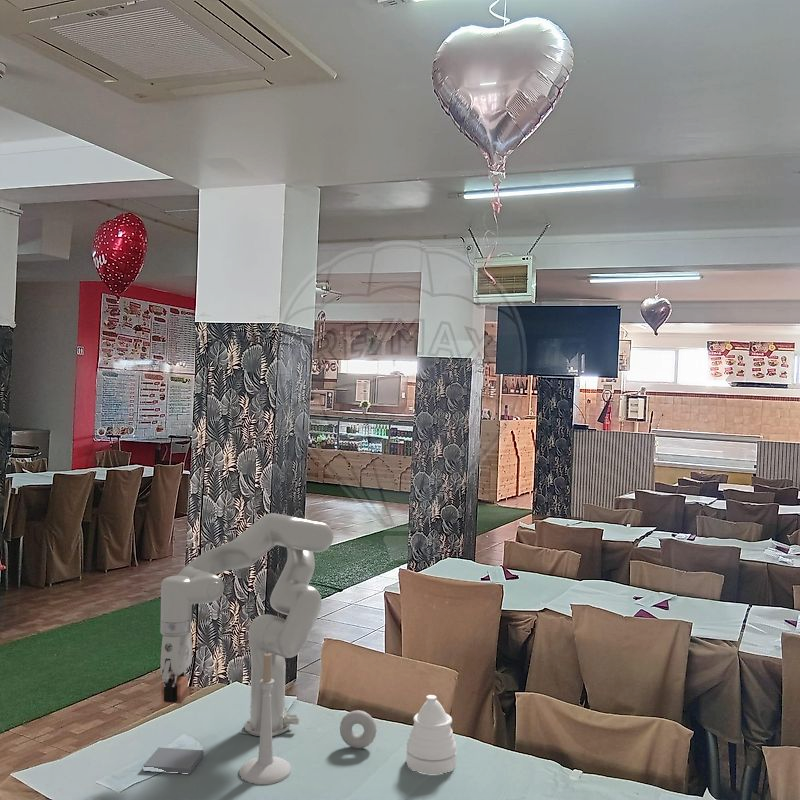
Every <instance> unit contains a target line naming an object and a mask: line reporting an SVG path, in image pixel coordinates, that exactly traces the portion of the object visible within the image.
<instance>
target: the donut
mask: <svg viewBox="0 0 800 800" xmlns="http://www.w3.org/2000/svg"><path fill="white" fill-rule="evenodd" d="M357 724H358V725H360V726H362V728H363V733H361V734H357V733H355V732H354V731H353V726H355V725H357ZM339 733H340V737H341V739H342V742H344V743H345V744H346V745H347V746H349V747H351V748H353V749H358V750H359V749H364V748H366V747H369V746H370V745H371V744H372V743H373V742H374V740H375V738H376V735H377V725H376V723H375V720H374V718H373V717H372V716H371V715H370V714H369V713H367V712H366V711H364V710H359V709H357V710H356V709H355V710H352V711H349V712H348V713H346V714H345V715H344V716H343V717H342V719H341V722H340V726H339Z"/></svg>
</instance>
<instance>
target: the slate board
mask: <svg viewBox="0 0 800 800" xmlns="http://www.w3.org/2000/svg"><path fill="white" fill-rule="evenodd" d="M201 758H202V759H203V758H204V749H203V750H202V749H190V748H189V749H187V748H171V747H158V748H157V749H156V750H155V751H154V752H153V753H152V754H151V756H150V757H149V758H148V759H147V760H146V761H145V763H144V764H142V767H143V766H144V767H154V768H158V769H162V770H164V771H166V772H178V773H188V774H190V773H191V774H192V772H193V771H194V770H195V768H196V767H197V766H198V764H199V763H200V762H201V760H202V759H201ZM198 762H199V763H198ZM197 763H198V764H197ZM196 765H197V766H196ZM195 766H196V767H195ZM193 769H194V770H193ZM192 770H193V771H192ZM191 771H192V772H191ZM191 774H190V775H191Z"/></svg>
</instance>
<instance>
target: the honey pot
mask: <svg viewBox="0 0 800 800" xmlns="http://www.w3.org/2000/svg"><path fill="white" fill-rule="evenodd" d="M425 698H426V701H425V702H424V704H423V705H422V706H421V708H420V710H419V711H418V712H417V713H416V714H415V715H414V716H413V722H414V723H413V725H412V727H411V729H410V733H409V737H408V738H407V740H406V758H405V759H406V761H405V762H407V764H406V766H407V765H408V766H409V767H410V768H411V769H413V770H415V771H418V772H422V773H426V774H440V773H445V772H448V771H451V770H452V769H454V768H456V767H457V742H456V740H455V735H454V733H453V732H454V730H453V729H452V726H451V725H452V723H453V717H452V716H451V715H450V714H448V713H446V710H445V709H444V707H443V706H442V704H441V702H440V701H439V700H438V699H437V695H434V694H428V695H426V697H425ZM408 766H407V767H408ZM455 766H456V767H455ZM409 767H408V768H409ZM410 768H409V769H410ZM411 769H410V770H411ZM413 770H412V771H413ZM454 770H455V769H454ZM452 771H453V770H452ZM452 771H451V772H452Z"/></svg>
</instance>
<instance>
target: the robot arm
mask: <svg viewBox="0 0 800 800" xmlns="http://www.w3.org/2000/svg"><path fill="white" fill-rule="evenodd" d="M333 532H334V531H333V529H332V528H331V527H330V526H329V524H327V523H325V522H322V521H316V520H312V519H311V520H310V519H306V518H301V517H296V516H291V515H286V514H282V513H281V514H280V513H273V512H271V513H267V514H265V515H263V516H261V517H259V519H258V520H257V521H255V522H254V523H253V524H251V526H249V527H247V529H246V530H244V531H243V532H242V533H240V534H239V535H238V536H237V537H236V538H234V539H233V540H231V541H229V542H227V543H224V544H221V545H219V546H216V547H214V548H212V549H209V550H207V551H204V552H203V553H201V554H200V555H198V556H197V557H195V558H194V559H193V560H192V561H190V562H189V563H188V564H187V565H185V566H184V567H183V568H182V569H181V570H180V572H179V573H178V574H177V575H171V576H167V577H165V578H163V580H161V585H160V586H161V587H160V634H161V635H162V638H161V651H160V673H161V674H162V677H161V681H162V682H164V702H174V703H173V704H175V702H176V701H177V686H176V680H177V676H184V677H187V669H188V668H189V667H190V666H191V665H192V661H193V651H192V646H193V645H192V633H191V632H192V613H193V612H192V607H193V605H194V604H196V605H197V604H210V603H211V604H212V603H213V602H216V601H217V600H219V599H220V598H221V596H222V595H223V593H224V592H225V585H224V581H223V579H221V577H220V576H218V575H217V574H221V573H223V572H227V571H232V570H241V569H244V568H249V567H251V566H253V565H254V564H255V563H257V562H258V561H259V560H260V559H261V558H262V557H263V556H264V555H266V554H267V553H268V552H269V551H271V550H272V549H273V548H274V547H276V546H279V547H284V548H286V551H287V557H286V563H285V565H284V567H283V570H281V573H280V575H279V578H278V579H277V582H276V583H275V586H274V587H273V590H272V591H271V595H270V597H269V604H270V606H271V608H272V609H273V610H274V611H276V612H278V613H281V614H283V615H286V616H287V617H286V619H285V618H283V617H279V616H276V615H273V614H269V613H268V614H260V615H258V616H256V617H255V618H254V619H253V620H252V621H251V623H250V624H249V627H248V635H247V636H248V642H249V643H248V644H249V649H250V659H251V660H250V661H251V662H250V663H251V664H250V665H251V669H250V670H251V673H250V712H249V713H250V714H249V715H250V717H249V718H248V719H247V720H246V721H245V722H244V731H245V732H246V731H247V732H246V733H247V734H249V735H252V736H256V737H260V731H261V716H262V702H263V694H264V691H263V689H262V683H261V682H260V680H262V679H263V661H264V654H265V653H267V652H268V653H271V654H272V661H271V679H274V682H273V683H272V688H271V691H270V694H271V717H272V737H275V736H278V735H281V734H284V733H286V732H287V731H288V730H289V729H290V727H291V725H295V726H296V725H297V726H298V725H299V724H300V717H299V716H298V714H290V713H288V708H287V707H286V702H285V701H286V668H287V667H286V659H291V658H294V657H296V656H297V655H299V654H300V653H301V651H302V650H303V648H304V647H305V645H306V643H307V640H308V639H309V636H310V634H311V632H312V629H313V628H314V626H315V623H316V620H317V619H318V617H319V614H320V611H321V609H322V596H321V594H320V592H319V591H318V589H317V588H316V587H314V586H312V585H310V582H311V580H312V577H313V575H314V571H315V567H316V561H315V556H314V555H315V554H314V553H323V552H325V551H327V550H329V548H330V547H331V546H332V544H333V541H334V533H333ZM171 672H172V673H171ZM169 676H173V680H172V679H171V678H170V677H169ZM285 707H286V708H285Z"/></svg>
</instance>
